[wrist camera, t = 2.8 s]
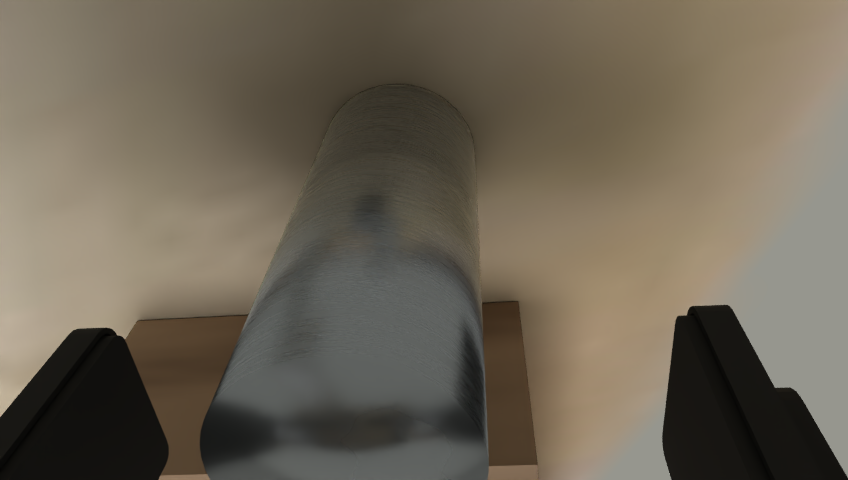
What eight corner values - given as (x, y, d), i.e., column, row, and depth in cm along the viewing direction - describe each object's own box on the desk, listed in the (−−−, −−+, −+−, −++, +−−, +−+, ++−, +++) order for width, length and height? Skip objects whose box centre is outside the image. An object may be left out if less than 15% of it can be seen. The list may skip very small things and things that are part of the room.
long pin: (311, 90, 17) (161, 363, 8) (470, 77, 16) (480, 350, 8) (338, 226, 19) (240, 553, 10) (479, 217, 19) (495, 549, 10)
